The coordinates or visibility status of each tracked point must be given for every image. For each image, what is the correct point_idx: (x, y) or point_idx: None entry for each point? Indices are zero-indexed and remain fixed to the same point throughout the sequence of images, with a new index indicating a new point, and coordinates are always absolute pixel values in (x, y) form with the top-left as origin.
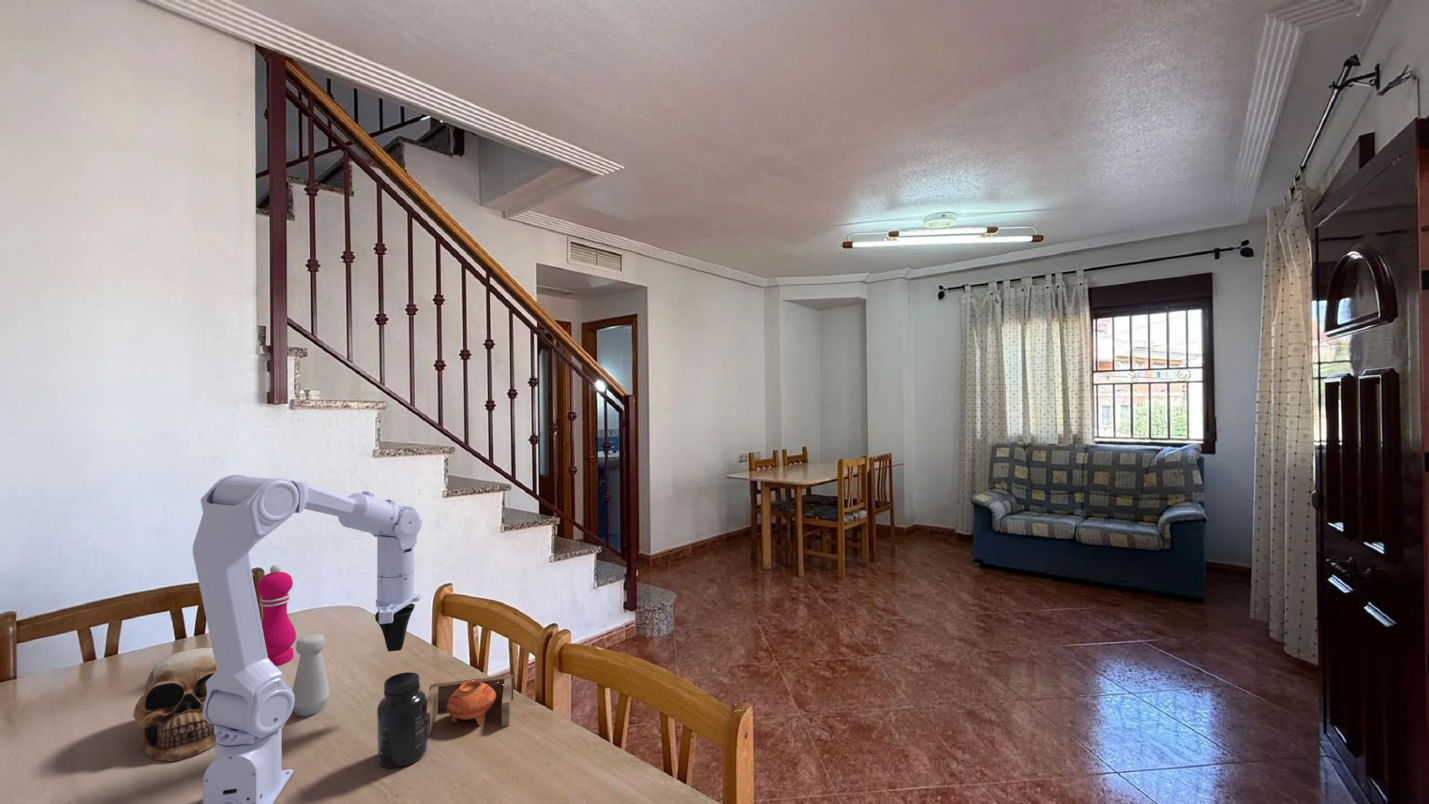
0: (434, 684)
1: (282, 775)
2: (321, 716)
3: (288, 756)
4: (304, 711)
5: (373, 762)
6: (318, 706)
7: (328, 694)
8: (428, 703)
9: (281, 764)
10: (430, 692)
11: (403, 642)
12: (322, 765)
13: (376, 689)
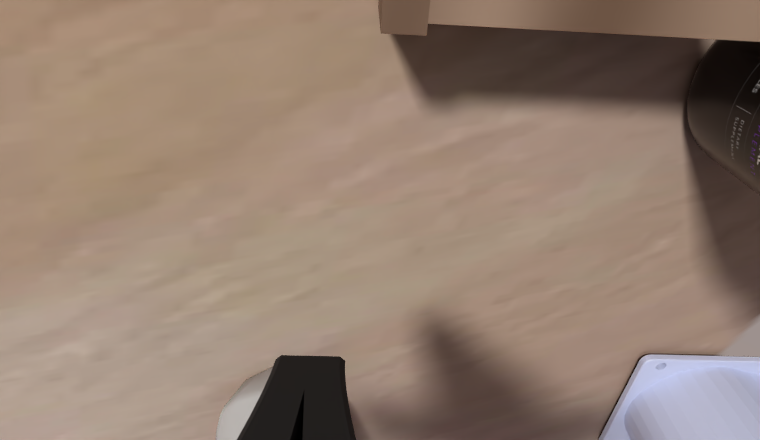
0: (391, 6)
1: (666, 372)
2: None
3: (541, 377)
4: None
5: None
6: None
7: None
8: (654, 16)
9: (718, 407)
10: (500, 21)
11: (289, 387)
12: (648, 301)
13: (152, 257)
